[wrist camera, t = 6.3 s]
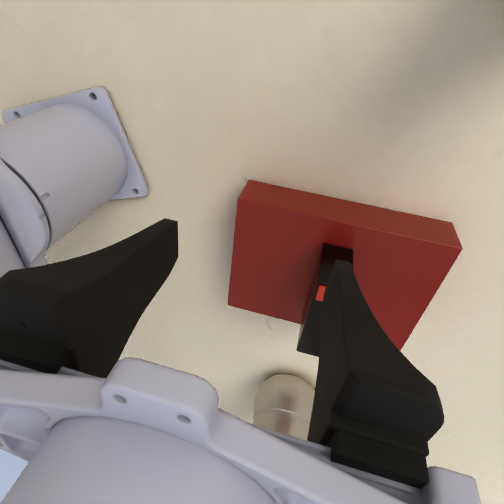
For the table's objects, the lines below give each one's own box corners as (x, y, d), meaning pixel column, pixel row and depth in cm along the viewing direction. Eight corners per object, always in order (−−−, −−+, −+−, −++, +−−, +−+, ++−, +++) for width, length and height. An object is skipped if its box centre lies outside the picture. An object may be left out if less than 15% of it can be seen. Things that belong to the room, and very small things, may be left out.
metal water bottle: (310, 409, 40) (279, 676, 24) (254, 388, 40) (188, 639, 25) (330, 379, 36) (308, 677, 20) (268, 357, 36) (199, 633, 21)
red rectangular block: (237, 281, 31) (227, 305, 29) (248, 179, 25) (237, 198, 22) (397, 322, 29) (400, 350, 27) (452, 222, 23) (463, 248, 21)
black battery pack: (329, 316, 26) (325, 362, 23) (303, 309, 27) (295, 354, 23) (353, 249, 22) (353, 292, 19) (323, 242, 23) (317, 284, 19)
